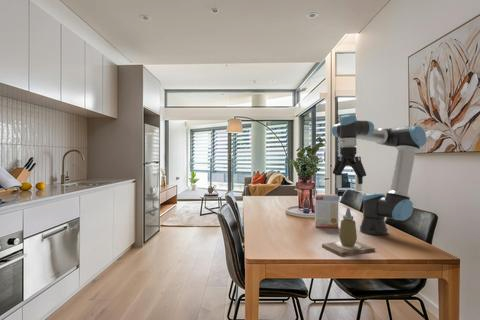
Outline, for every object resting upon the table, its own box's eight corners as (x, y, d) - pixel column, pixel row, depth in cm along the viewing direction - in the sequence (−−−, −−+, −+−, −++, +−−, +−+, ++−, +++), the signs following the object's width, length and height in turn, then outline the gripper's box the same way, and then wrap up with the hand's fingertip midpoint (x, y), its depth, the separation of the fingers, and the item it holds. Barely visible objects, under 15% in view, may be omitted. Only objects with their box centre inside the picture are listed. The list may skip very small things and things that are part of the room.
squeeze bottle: (352, 242, 142) (352, 206, 142) (359, 247, 134) (360, 209, 134) (336, 242, 142) (337, 206, 141) (343, 247, 134) (343, 209, 133)
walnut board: (353, 242, 148) (353, 239, 148) (375, 251, 135) (375, 247, 135) (321, 246, 141) (321, 243, 141) (341, 256, 128) (341, 251, 128)
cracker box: (336, 225, 184) (336, 194, 184) (338, 228, 178) (338, 195, 178) (314, 225, 185) (314, 193, 185) (315, 227, 179) (316, 194, 179)
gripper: (325, 147, 151) (326, 187, 151) (361, 146, 127) (362, 192, 128) (336, 147, 153) (337, 186, 154) (374, 146, 130) (374, 191, 131)
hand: (348, 189), depth 141 cm, fingers open, 13 cm apart
